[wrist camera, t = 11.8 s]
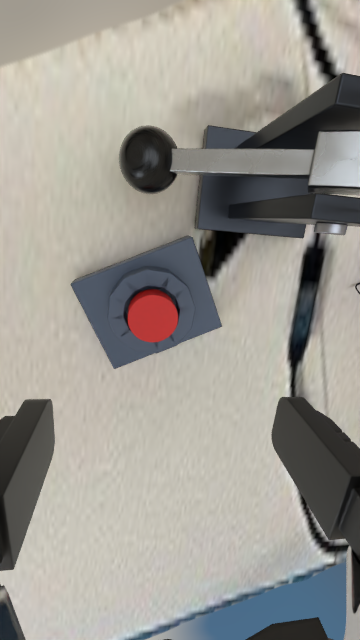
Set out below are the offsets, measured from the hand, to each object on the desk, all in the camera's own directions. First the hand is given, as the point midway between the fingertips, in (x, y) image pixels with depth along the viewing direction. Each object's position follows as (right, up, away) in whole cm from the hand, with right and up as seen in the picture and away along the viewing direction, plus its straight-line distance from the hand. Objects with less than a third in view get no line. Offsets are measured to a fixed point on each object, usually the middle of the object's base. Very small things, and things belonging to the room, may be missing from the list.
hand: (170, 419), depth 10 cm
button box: (-2, +5, +15) cm, 16 cm away
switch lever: (+4, +12, +6) cm, 14 cm away
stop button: (-2, +4, +12) cm, 13 cm away
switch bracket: (+6, +14, +13) cm, 20 cm away
